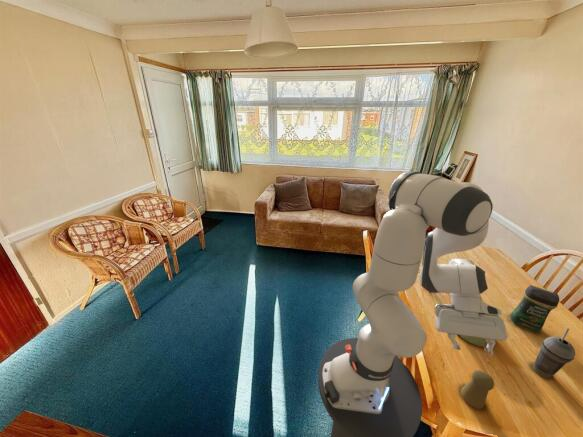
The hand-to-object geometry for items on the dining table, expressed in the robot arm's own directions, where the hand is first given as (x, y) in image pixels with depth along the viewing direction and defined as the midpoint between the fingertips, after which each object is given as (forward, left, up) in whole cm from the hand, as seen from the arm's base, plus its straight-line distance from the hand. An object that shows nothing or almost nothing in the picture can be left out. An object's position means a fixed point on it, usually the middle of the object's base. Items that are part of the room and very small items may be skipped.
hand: (472, 351), depth 74 cm
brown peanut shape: (-2, -7, -12) cm, 14 cm away
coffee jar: (+43, +18, -12) cm, 48 cm away
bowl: (+17, +16, -12) cm, 26 cm away
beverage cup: (+29, -1, -12) cm, 32 cm away
